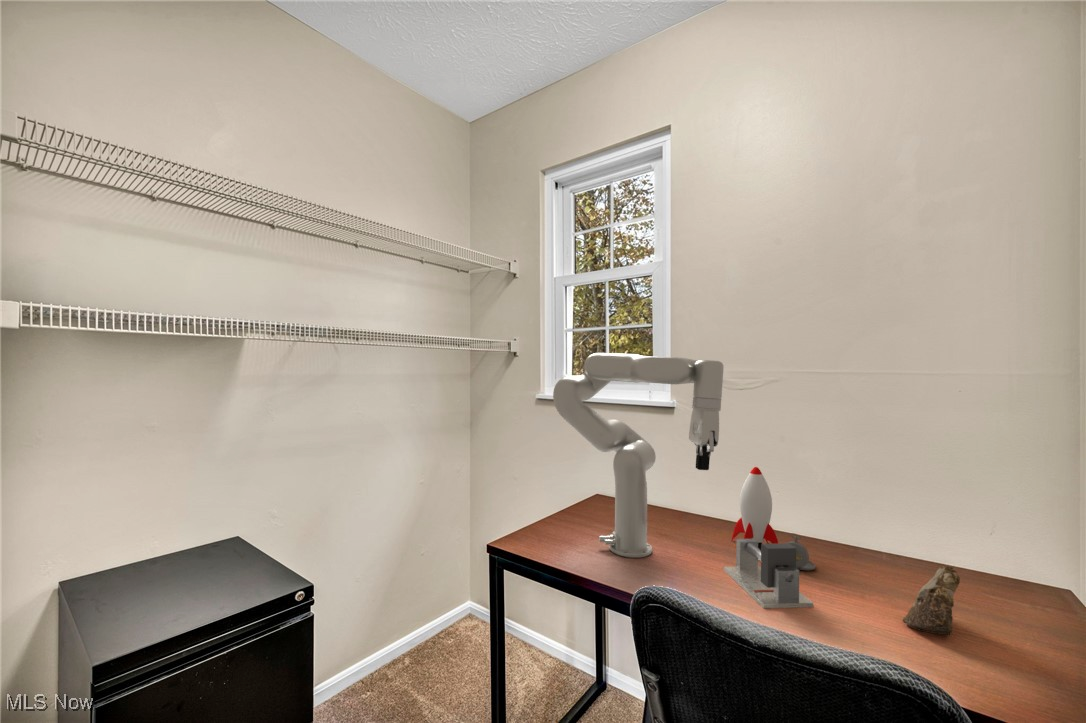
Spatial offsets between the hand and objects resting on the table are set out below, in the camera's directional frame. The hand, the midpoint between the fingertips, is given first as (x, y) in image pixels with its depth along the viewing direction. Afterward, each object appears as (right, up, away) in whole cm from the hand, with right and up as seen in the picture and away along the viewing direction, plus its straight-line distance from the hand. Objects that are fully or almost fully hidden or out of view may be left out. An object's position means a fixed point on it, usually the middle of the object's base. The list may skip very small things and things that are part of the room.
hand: (702, 469), depth 131 cm
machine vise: (+11, -27, -13) cm, 32 cm away
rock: (+39, -27, -30) cm, 56 cm away
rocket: (+21, -28, +13) cm, 37 cm away
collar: (+12, -23, -19) cm, 32 cm away
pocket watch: (+27, -27, -1) cm, 38 cm away
